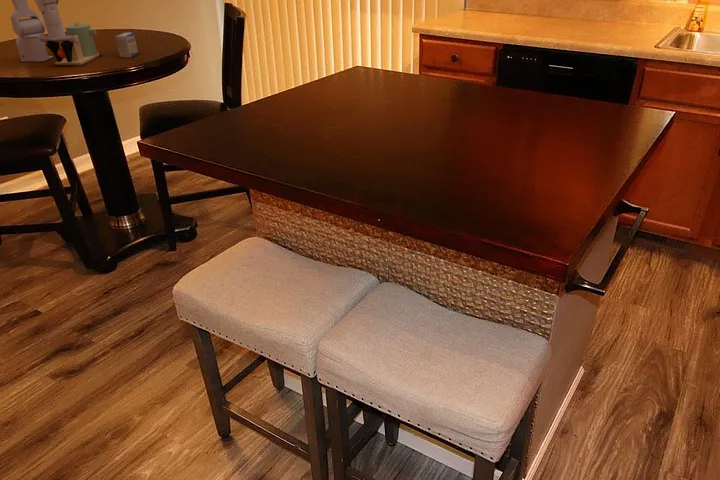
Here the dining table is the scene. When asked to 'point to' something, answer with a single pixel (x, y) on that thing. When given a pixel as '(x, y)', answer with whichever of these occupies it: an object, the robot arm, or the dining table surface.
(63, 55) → the switch
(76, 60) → the switch bracket
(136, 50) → the medicine box
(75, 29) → the kettle
